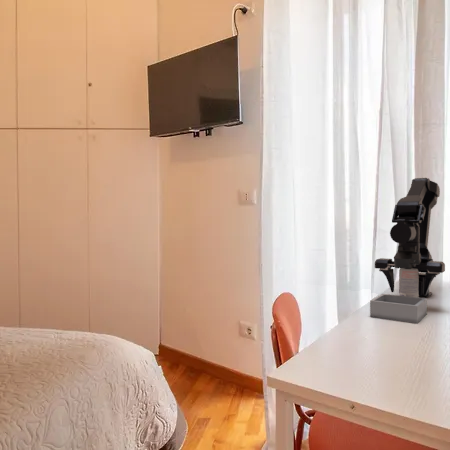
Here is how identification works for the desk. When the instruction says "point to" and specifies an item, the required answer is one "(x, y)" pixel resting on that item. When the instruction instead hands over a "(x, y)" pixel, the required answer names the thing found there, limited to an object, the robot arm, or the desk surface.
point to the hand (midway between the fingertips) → (408, 293)
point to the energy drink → (409, 282)
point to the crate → (398, 308)
